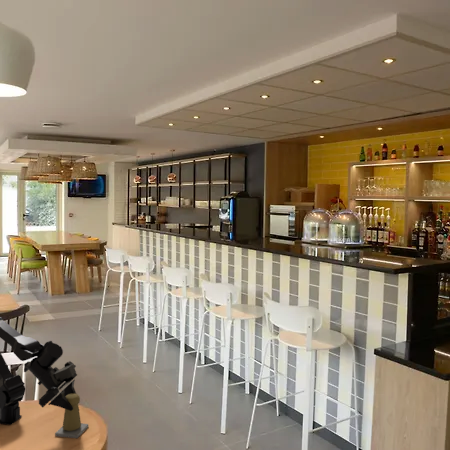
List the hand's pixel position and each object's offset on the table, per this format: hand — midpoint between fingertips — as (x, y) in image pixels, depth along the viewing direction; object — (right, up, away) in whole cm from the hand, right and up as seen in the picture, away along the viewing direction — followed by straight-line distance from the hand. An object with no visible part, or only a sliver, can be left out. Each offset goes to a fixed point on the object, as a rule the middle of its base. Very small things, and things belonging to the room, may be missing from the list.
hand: (75, 406), depth 156 cm
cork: (-1, -7, +1) cm, 8 cm away
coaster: (-1, -9, 0) cm, 9 cm away
